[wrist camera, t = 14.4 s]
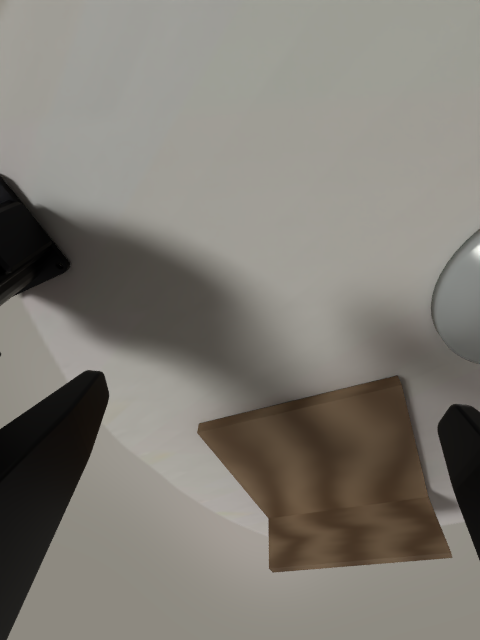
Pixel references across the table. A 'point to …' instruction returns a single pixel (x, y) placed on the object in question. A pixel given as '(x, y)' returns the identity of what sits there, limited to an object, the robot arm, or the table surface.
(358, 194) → the table surface
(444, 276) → the ceramic saucer
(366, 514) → the wooden bookend
